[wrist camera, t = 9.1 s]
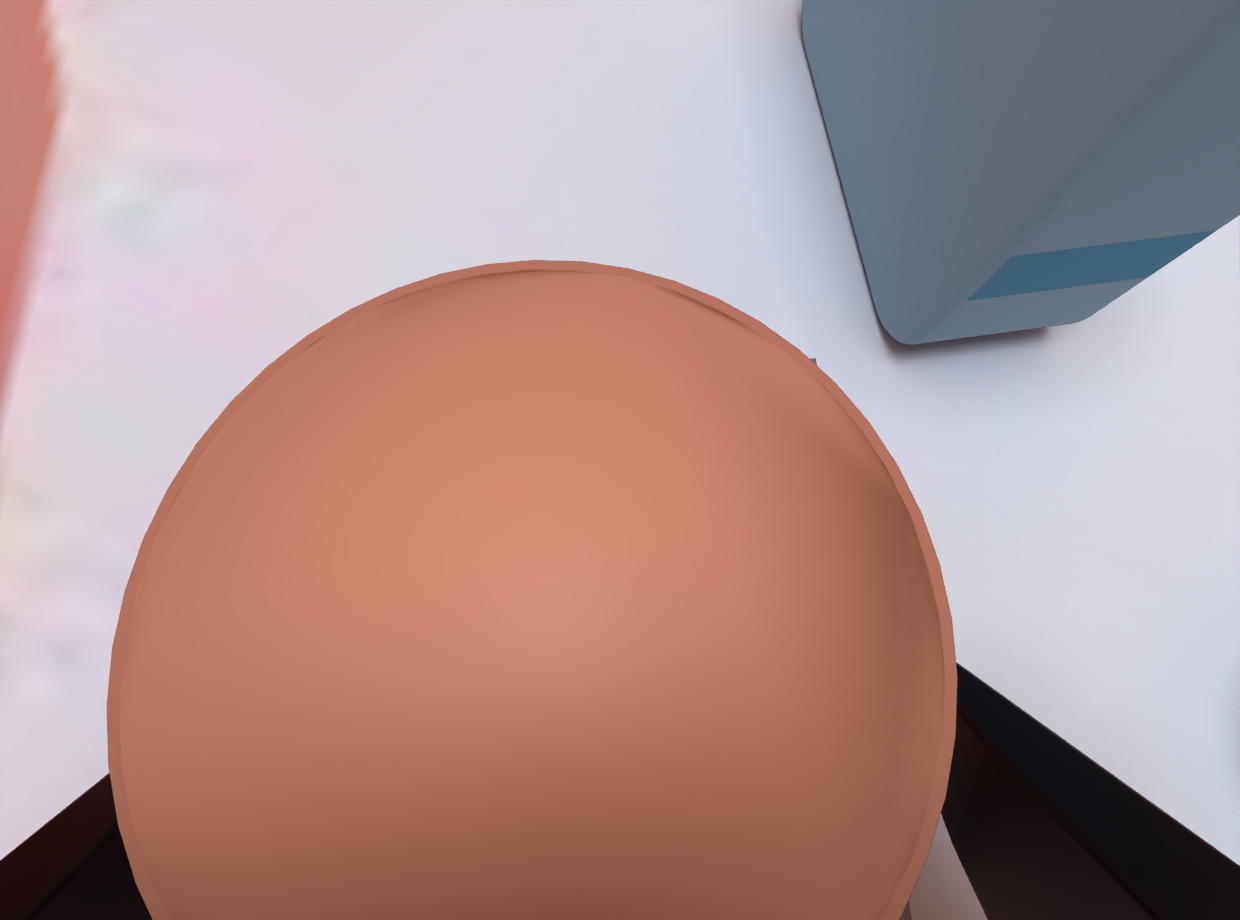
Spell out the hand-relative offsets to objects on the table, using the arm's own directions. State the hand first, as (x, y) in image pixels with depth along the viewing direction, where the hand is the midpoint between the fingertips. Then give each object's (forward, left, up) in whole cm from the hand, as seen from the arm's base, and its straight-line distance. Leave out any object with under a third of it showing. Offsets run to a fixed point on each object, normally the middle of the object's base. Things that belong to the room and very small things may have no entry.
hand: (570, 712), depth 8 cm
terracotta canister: (+1, 0, -6) cm, 6 cm away
